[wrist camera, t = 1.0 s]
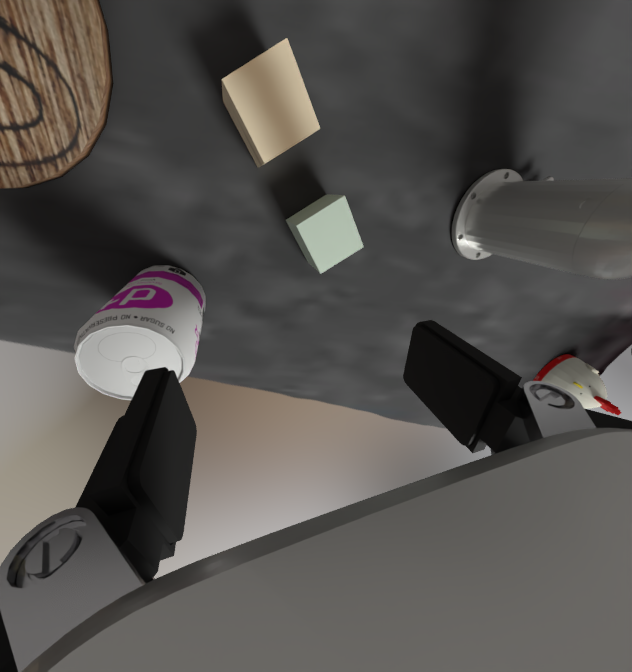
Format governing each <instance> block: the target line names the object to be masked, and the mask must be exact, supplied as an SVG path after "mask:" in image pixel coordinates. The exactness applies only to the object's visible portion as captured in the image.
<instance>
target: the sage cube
mask: <svg viewBox="0 0 632 672" xmlns="http://www.w3.org/2000/svg"><path fill="white" fill-rule="evenodd" d="M286 222H287V224H288V226H289V228H290V230H291V231H292V233H293V235H294V237H295V239H296V241H297V243H298V245H299V247H300V249H301V250H302V252H303V254H304V256H305V258H306V260H307V262H308V263H309V264H310V265H312V266H313V267H314V268H315V269H316V270H317V271H318V272H319V273H320V274H321V273H323V272H324V271H326V270H327V269H329V268H331V267H332V266H334V265H336V264H337V263H339V262H340V261H342V260H344V259H345V258H347V257H348V256H350V255H352V254H353V253H355V252H356V251H358V250H360V249H361V248H363V244H362V241H361V238H360V236H359V233H358V230H357V227H356V225H355V222H354V219H353V217H352V214H351V211H350V208H349V206H348V203H347V200H346V197H345V195H327V194H326V195H325V196H323V197H322V198H320V199H318V200H317V201H315V202H314V203H312V204H310V205H309V206H307V207H306V208H304V209H302V210H301V211H299V212H298V213H296V214H294V215H293V216H291V217H290V218H288V219H286Z"/></svg>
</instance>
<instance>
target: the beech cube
mask: <svg viewBox="0 0 632 672" xmlns="http://www.w3.org/2000/svg"><path fill="white" fill-rule="evenodd" d="M222 95H223V103H224V105H225V106H226V108H227V110H228V112H229V114H230V116H231V118H232V120H233V122H234V123H235V125H236V127H237V129H238V131H239V133H240V135H241V137H242V139H243V141H244V142H245V144H246V146H247V148H248V150H249V152H250V154H251V156H252V158H253V159H254V161H255V163H256V165H257V167H258V168H259V167H261V166H262V165H264V164H265V163H267V162H268V161H270V160H272V159H273V158H275V157H276V156H278V155H280V154H281V153H283V152H284V151H286V150H288V149H289V148H291V147H292V146H294V145H296V144H297V143H299V142H300V141H302V140H304V139H305V138H307V137H308V136H310V135H311V134H313V133H314V132H316V131H317V130H319V129H320V126H319V123H318V121H317V118H316V115H315V113H314V110H313V107H312V104H311V102H310V99H309V96H308V93H307V91H306V88H305V85H304V82H303V80H302V77H301V74H300V72H299V69H298V66H297V63H296V61H295V58H294V55H293V52H292V50H291V47H290V44H289V41H288V39H287V38H286V39H285V40H283V41H281V42H280V43H278V44H277V45H275V46H273V47H272V48H270V49H269V50H267V51H266V52H264V53H262V54H261V55H259V56H258V57H256V58H254V59H253V60H251V61H250V62H248V63H247V64H245V65H243V66H242V67H240V68H239V69H237V70H236V71H234V72H232V73H231V74H229V75H228V76H226V77H224V78H223V79H222Z"/></svg>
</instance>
